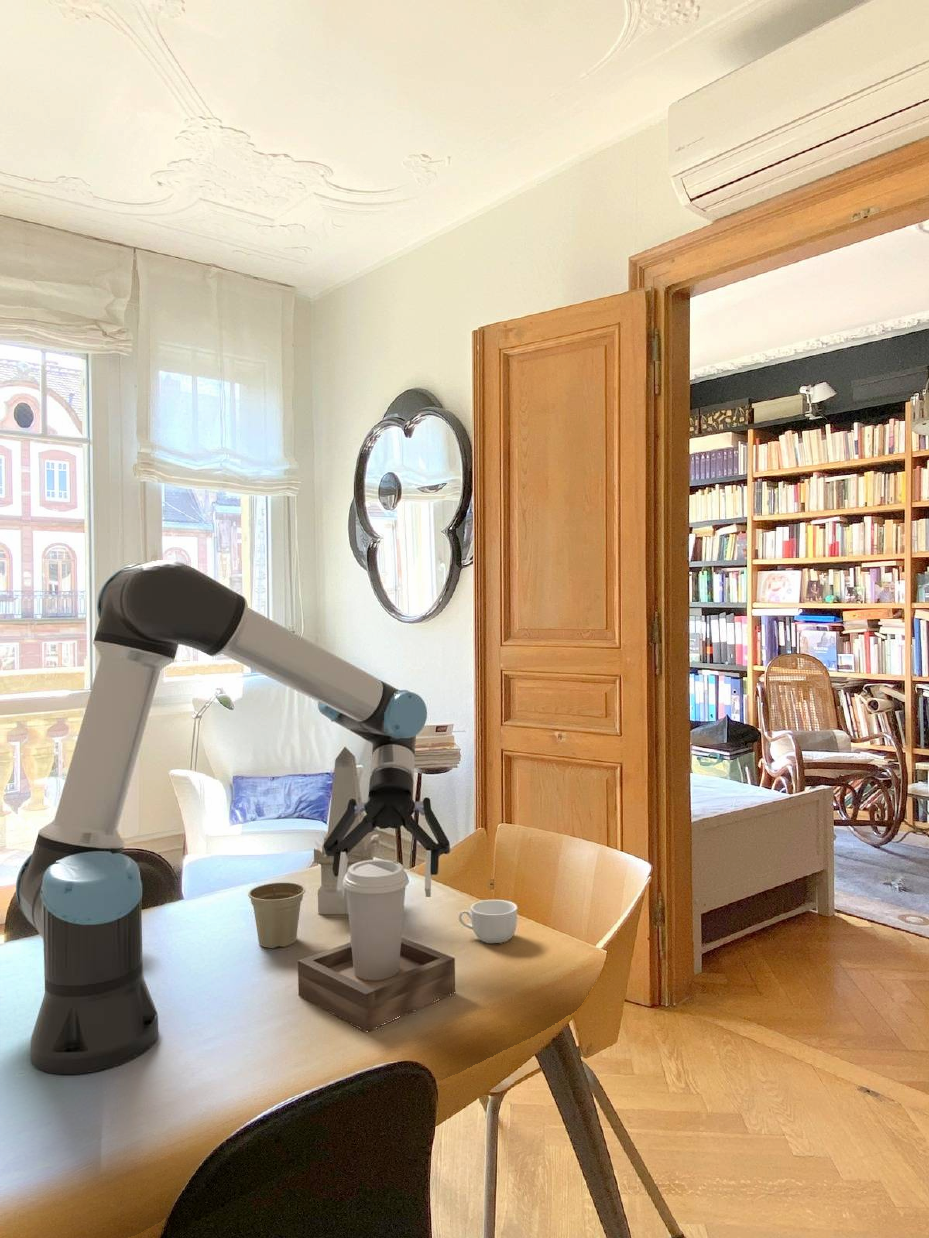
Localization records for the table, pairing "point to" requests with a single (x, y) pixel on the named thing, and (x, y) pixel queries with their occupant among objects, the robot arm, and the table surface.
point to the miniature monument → (363, 851)
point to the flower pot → (277, 912)
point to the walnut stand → (375, 984)
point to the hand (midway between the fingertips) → (383, 893)
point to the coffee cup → (376, 916)
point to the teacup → (492, 920)
